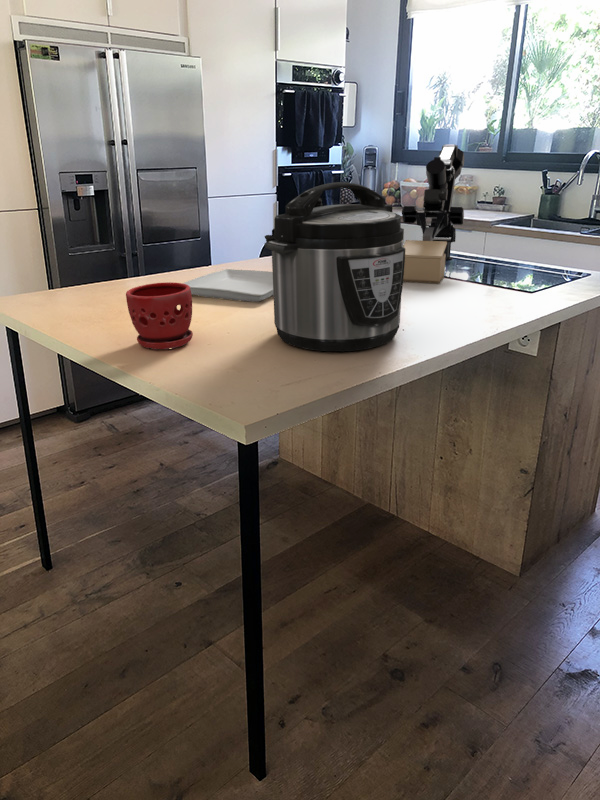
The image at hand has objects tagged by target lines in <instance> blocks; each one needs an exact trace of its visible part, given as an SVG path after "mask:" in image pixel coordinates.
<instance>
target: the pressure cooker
mask: <svg viewBox="0 0 600 800" xmlns="http://www.w3.org/2000/svg"><path fill="white" fill-rule="evenodd" d="M340 188H341V189H349V190H350V191H351V193H352V194H353V195H354V196H355V198H356V199H357V200H358V202H359V203H358V204H357V203H356V204H350V203H349V204H348V203H345V204H344V203H343V204H327V205H323V204H324V203H322V201H323V200H324V199H323V198H322V197H321V196H322V194H323V192H325V191H330V190H337V189H340ZM401 219H402V217H401V215H400V214H398V213H396V212H393V206H392V205H391V204H386V198H385V197H383V196H382V195H381V194H379V193H378V192H377V191H375V190H373V189H371V188H369V187H367V186H365V185H362V184H358V183H354V182H349V181H348V182H347V181H346V182H345V181H342V182H341V181H338V182H337V181H336V182H328V183H324V184H321V185H318V186H314V187H312V188H309V189H307V190H305V191H304V192H302V193H300V194H299V195H298V196H296V197H294V198H293V199H292V200H291V201H289V202H288V203H287V204H286V205H285V213H283V214H277V215H275V217H274V219H273V221H274V222H273V223H274V226H273V229H271V234H266V235H264V239H265V241H266V242H265V241H264V248H265V249H267V250H269V251H270V250H271V268H272V271H271V272H273V295H272V297H273V315H274V319H273V321H274V326H275V329H276V332H277V335H278V336H279V338H280V339H281V340H282V341H283V342H285V343H286V344H288V345H290V346H292V347H296V348H301V349H307V350H312V351H322V352H323V351H324V352H353V351H362V350H367V349H372V348H375V347H376V348H377V347H380V346H383V345H385V344H387V343H389V342H390V341H392V340H393V339H394V338H395V336H396V335H397V333H398V332H399V331H398V330H399V328H400V324H401V312H402V311H401V308H402V293H403V286H404V285H403V284H404V282H403V277H404V266H405V248H404V247H403V245H404V243H405V239H404V238H405V237H404V236H405V235H404V233H405V232H404V231H405V230H404V228H402V227H401V222H402V221H401Z"/></svg>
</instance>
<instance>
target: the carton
mask: <svg viewBox="0 0 600 800" xmlns="http://www.w3.org/2000/svg"><path fill="white" fill-rule="evenodd" d="M445 258H446V254H443V257H442V259H436V258H413V257H405V266H404V277H403V283H415V284H416V283H418V284H434V285H435V284H436V285H440V284H441V283H442V281H443V279H444V278H445V272H446V271H445V268H446V260H445Z"/></svg>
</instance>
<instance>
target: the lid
mask: <svg viewBox="0 0 600 800" xmlns="http://www.w3.org/2000/svg"><path fill="white" fill-rule="evenodd" d="M433 230H434V227H429V226H428V227H427V226H426V229H425V232H424V234H423V233H422V240H418V239H417V240H416V239H412V240H411V239H410V240H409V239H406V240H404V245H403V247H404V248H405V257H413V258H436V259H442V257H443V254H444V251H445V248H446V245H447V241H433V239H434V238H432V235H433Z"/></svg>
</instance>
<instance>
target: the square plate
mask: <svg viewBox="0 0 600 800" xmlns="http://www.w3.org/2000/svg"><path fill="white" fill-rule="evenodd" d="M182 283H183V284H186V285H189V286H190V289H191V295H193V296H194V295H195V296H198V295H199V297H201V296H204V297H203V298H209V297H214V298H213V299H219V298H223V299H222V300H229V299H232V300H231V301H238V300H241V302H254V303H255V302H260V301H261V302H262V301H263V300H266V299H268V298H270V297H273V271H266V270H251V269H235V268H233V269H232V268H231V269H229V268H226V269H221V270H218V271H214V272H211V273H207V274H204V275H201V276H198V277H195V278H193V279H189V280H187V281H185V282H182Z"/></svg>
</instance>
